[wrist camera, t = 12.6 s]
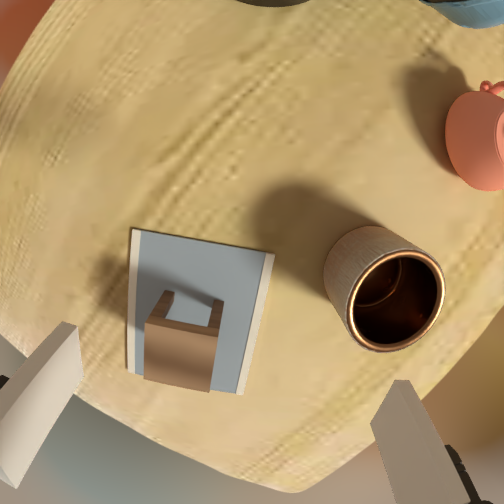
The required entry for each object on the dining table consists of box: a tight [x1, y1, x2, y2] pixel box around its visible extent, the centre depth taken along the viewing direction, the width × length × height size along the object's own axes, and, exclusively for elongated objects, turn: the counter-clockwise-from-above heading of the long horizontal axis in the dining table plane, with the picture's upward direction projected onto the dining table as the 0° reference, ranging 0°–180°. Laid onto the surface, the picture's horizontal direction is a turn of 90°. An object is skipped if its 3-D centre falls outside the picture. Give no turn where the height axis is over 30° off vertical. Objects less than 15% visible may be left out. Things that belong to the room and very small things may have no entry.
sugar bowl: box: [445, 81, 504, 191], centre depth 26 cm, size 12×14×10 cm
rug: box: [127, 229, 275, 395], centre depth 37 cm, size 20×16×1 cm
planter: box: [323, 226, 446, 353], centre depth 31 cm, size 11×11×10 cm
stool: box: [144, 290, 224, 393], centre depth 33 cm, size 7×7×8 cm
